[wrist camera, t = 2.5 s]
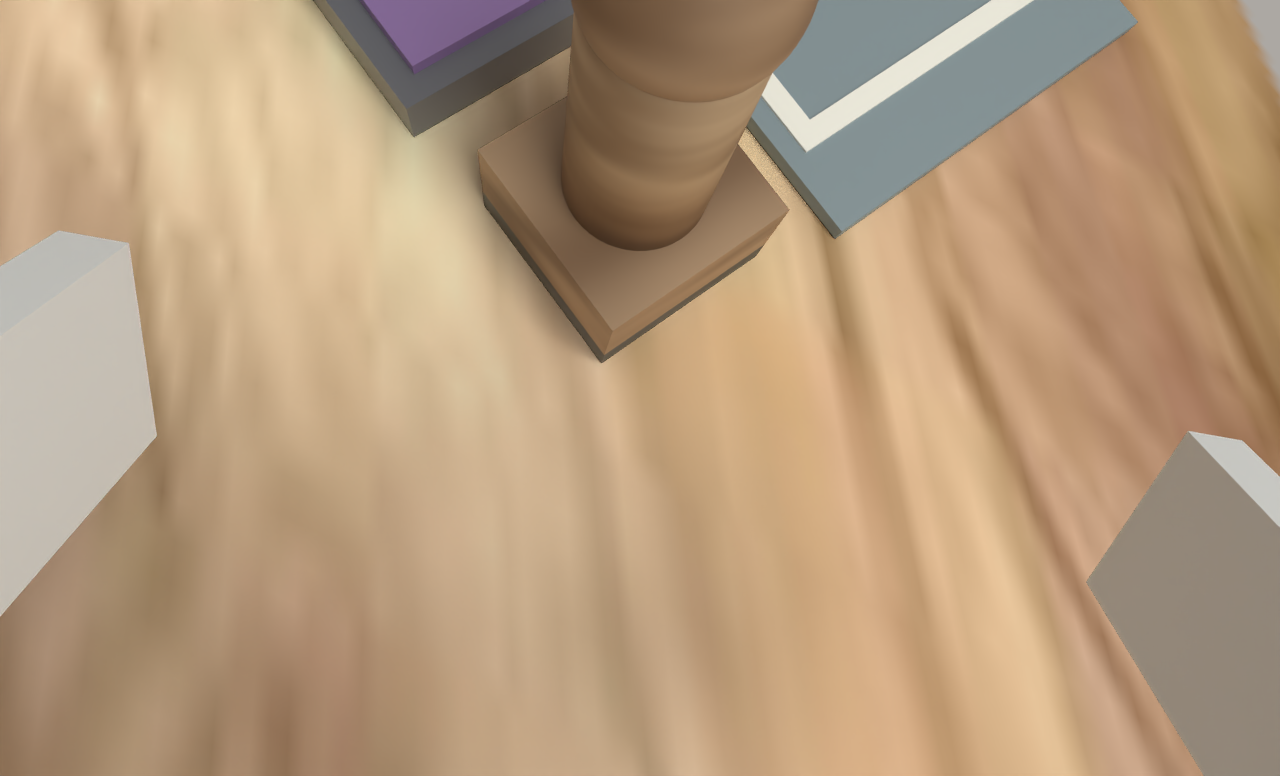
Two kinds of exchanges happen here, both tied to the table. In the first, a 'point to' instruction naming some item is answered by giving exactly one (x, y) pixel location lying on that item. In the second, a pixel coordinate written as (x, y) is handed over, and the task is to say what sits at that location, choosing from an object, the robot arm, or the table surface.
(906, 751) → the table surface
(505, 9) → the ink pad
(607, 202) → the stamp
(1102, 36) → the form board
